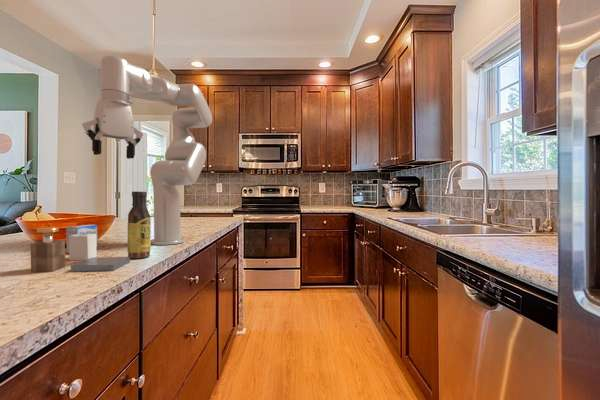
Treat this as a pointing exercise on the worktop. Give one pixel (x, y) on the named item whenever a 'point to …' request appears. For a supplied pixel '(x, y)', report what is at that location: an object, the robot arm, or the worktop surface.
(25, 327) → the worktop surface
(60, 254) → the brown block
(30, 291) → the worktop surface
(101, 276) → the worktop surface
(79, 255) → the block
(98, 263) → the plate
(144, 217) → the sauce bottle
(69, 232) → the medicine box
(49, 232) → the press pin
